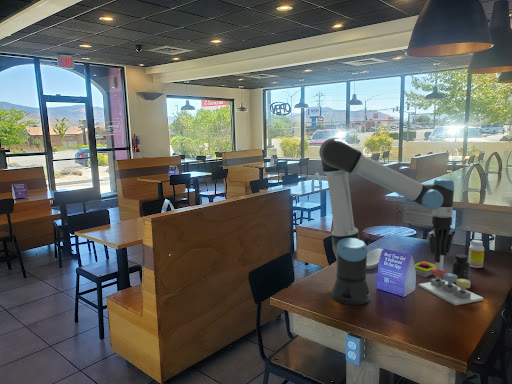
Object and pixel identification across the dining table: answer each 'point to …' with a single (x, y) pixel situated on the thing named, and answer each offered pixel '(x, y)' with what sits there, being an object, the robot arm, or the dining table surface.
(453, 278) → the slate button
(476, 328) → the dining table surface
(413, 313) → the dining table surface
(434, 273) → the red button
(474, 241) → the supplement bottle
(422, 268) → the emergency button
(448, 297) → the console
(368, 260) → the spoon rest
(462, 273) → the supplement bottle
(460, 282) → the ochre button
